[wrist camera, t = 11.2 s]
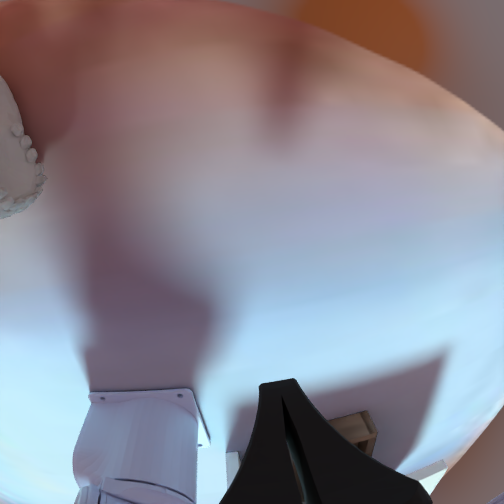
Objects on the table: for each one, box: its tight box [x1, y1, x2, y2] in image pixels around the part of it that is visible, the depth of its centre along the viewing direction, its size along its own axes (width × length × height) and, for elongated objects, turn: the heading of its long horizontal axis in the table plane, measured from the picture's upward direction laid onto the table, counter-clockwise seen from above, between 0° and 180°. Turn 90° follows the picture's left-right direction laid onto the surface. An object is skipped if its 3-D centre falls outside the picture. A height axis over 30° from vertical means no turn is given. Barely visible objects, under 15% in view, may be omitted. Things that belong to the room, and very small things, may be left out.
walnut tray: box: [288, 411, 378, 502], centre depth 26 cm, size 8×12×6 cm, turn 7°
